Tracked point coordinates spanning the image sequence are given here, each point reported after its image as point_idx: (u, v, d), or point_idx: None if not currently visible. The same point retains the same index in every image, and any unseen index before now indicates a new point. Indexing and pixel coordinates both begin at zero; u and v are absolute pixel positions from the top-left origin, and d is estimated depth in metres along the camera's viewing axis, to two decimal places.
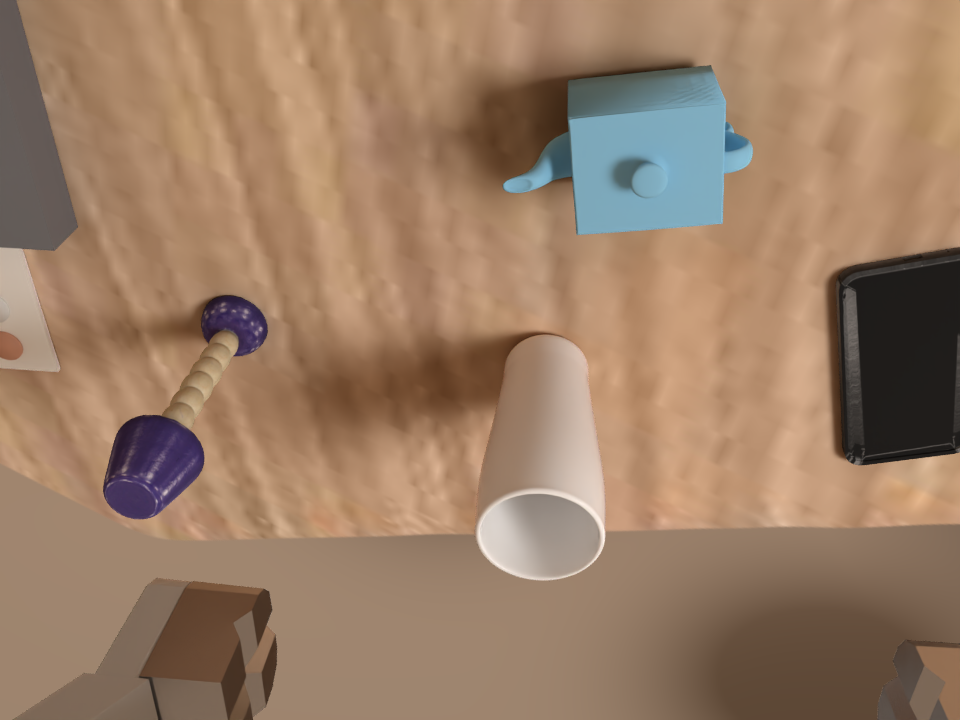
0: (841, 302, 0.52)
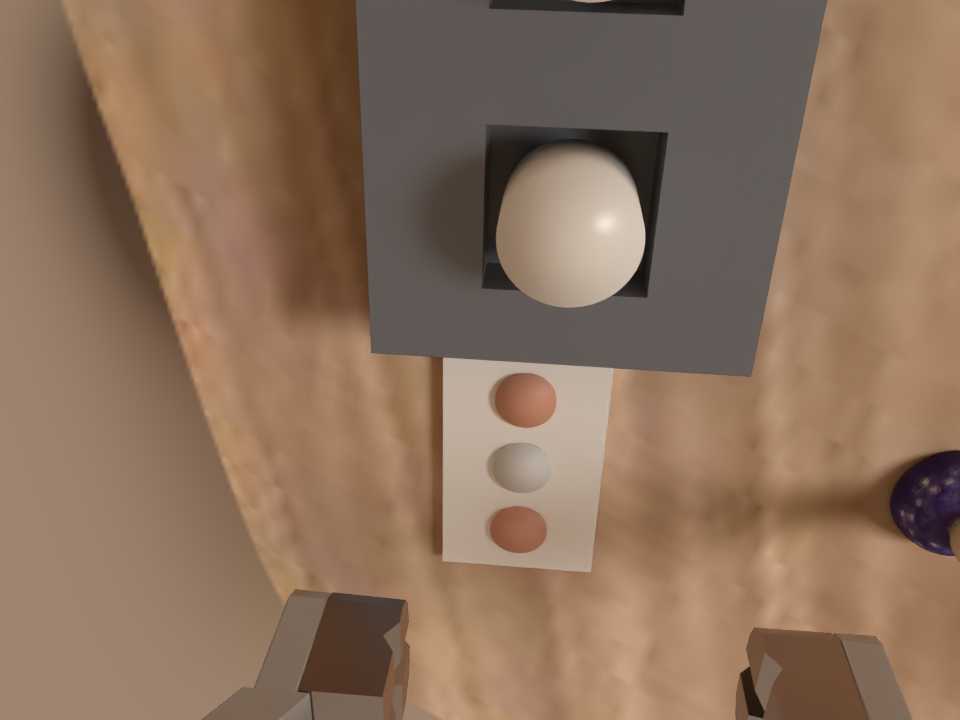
0: None
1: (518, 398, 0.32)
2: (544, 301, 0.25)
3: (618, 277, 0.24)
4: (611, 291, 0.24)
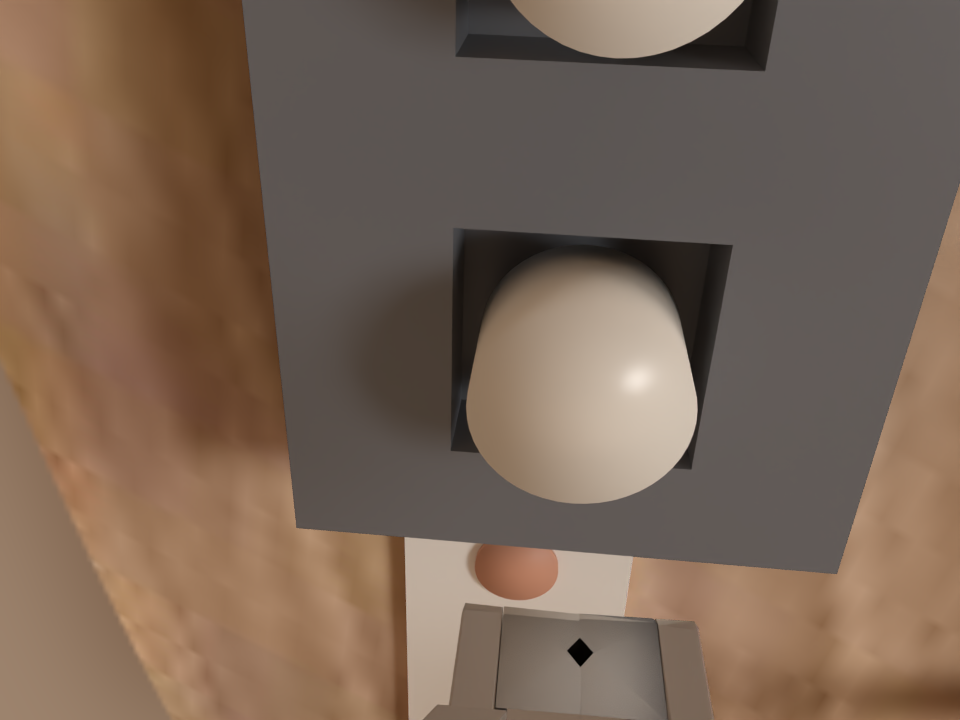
0: None
1: (506, 565, 0.23)
2: (540, 494, 0.16)
3: (653, 466, 0.16)
4: (642, 484, 0.16)
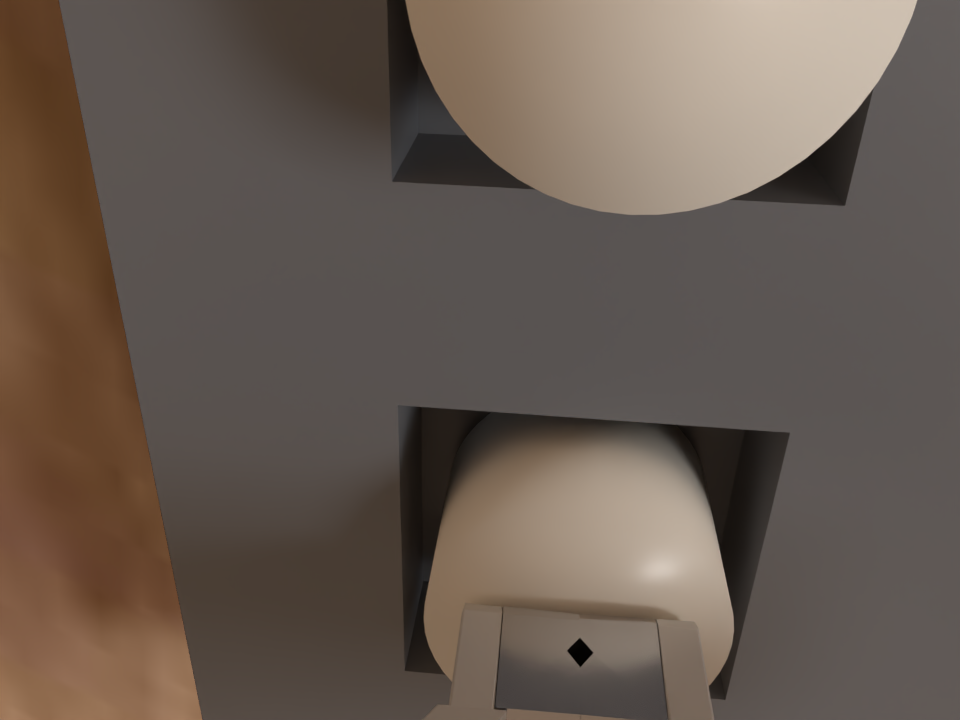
0: None
1: None
2: None
3: None
4: None
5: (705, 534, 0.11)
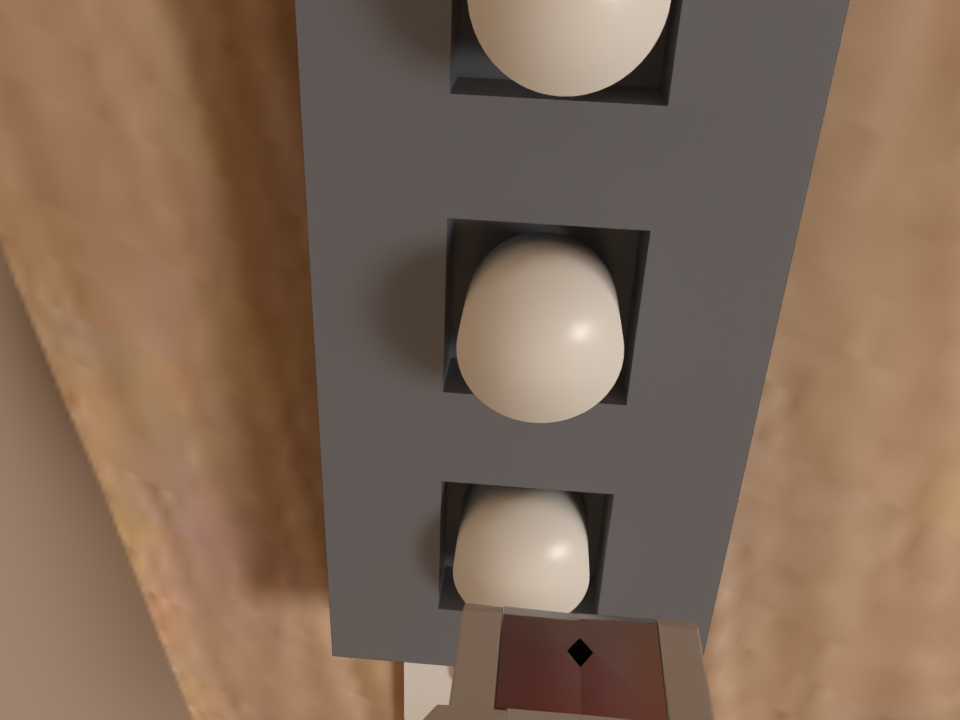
0: None
1: None
2: None
3: (565, 605, 0.26)
4: None
5: (577, 532, 0.26)
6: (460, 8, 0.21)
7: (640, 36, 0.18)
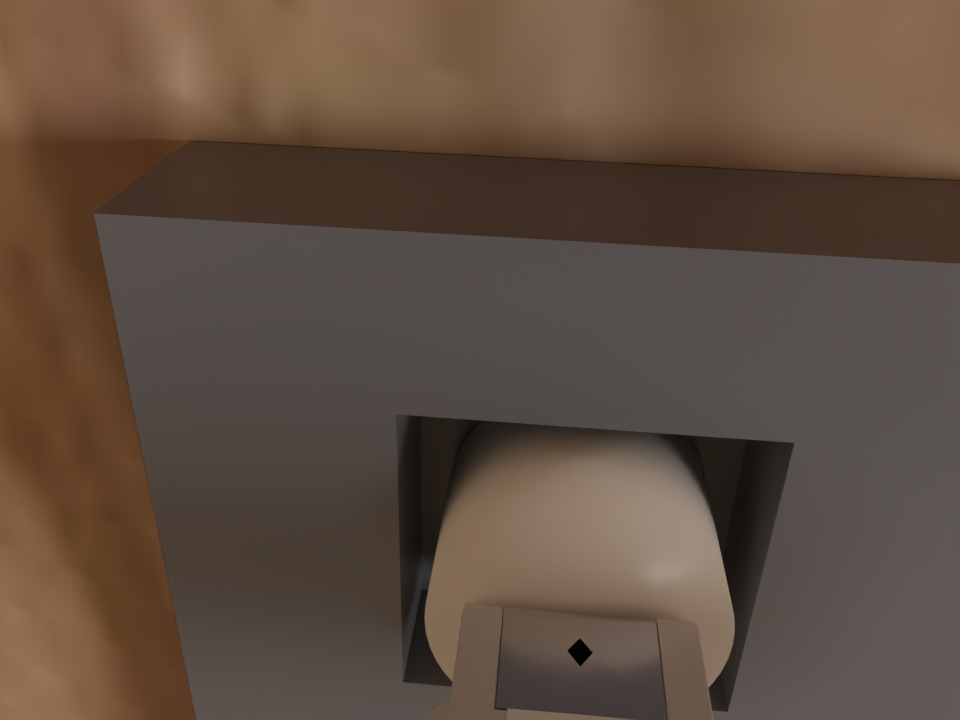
0: None
1: None
2: None
3: None
4: None
5: None
6: (422, 519, 0.15)
7: None
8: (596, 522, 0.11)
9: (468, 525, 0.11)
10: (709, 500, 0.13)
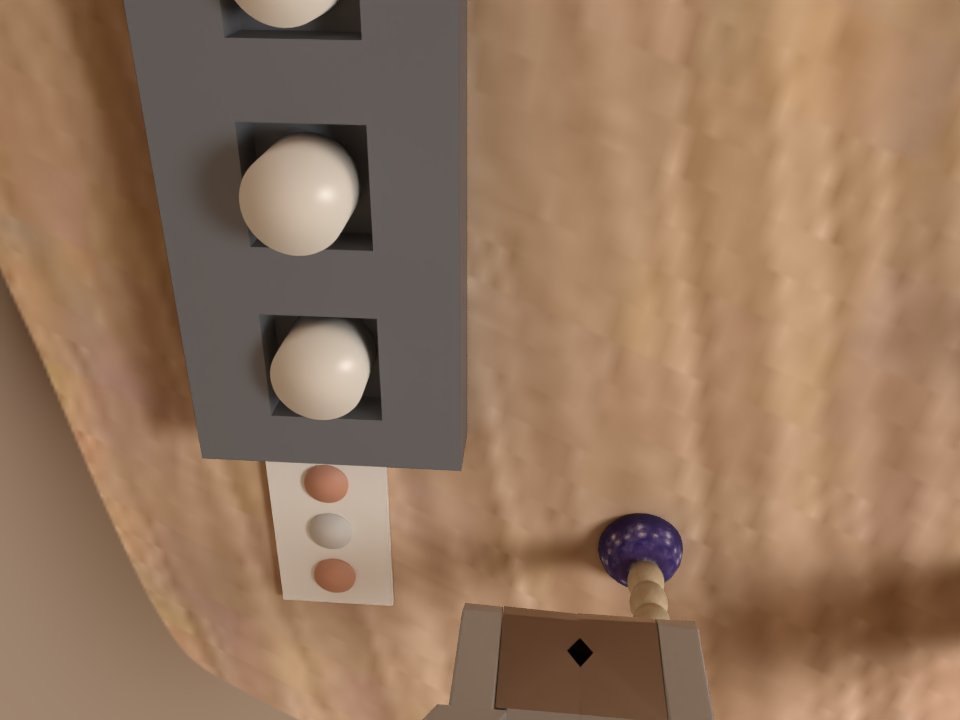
0: None
1: (320, 482, 0.44)
2: (307, 416, 0.38)
3: (351, 401, 0.38)
4: (348, 409, 0.38)
5: (354, 348, 0.37)
6: None
7: None
8: None
9: None
10: None
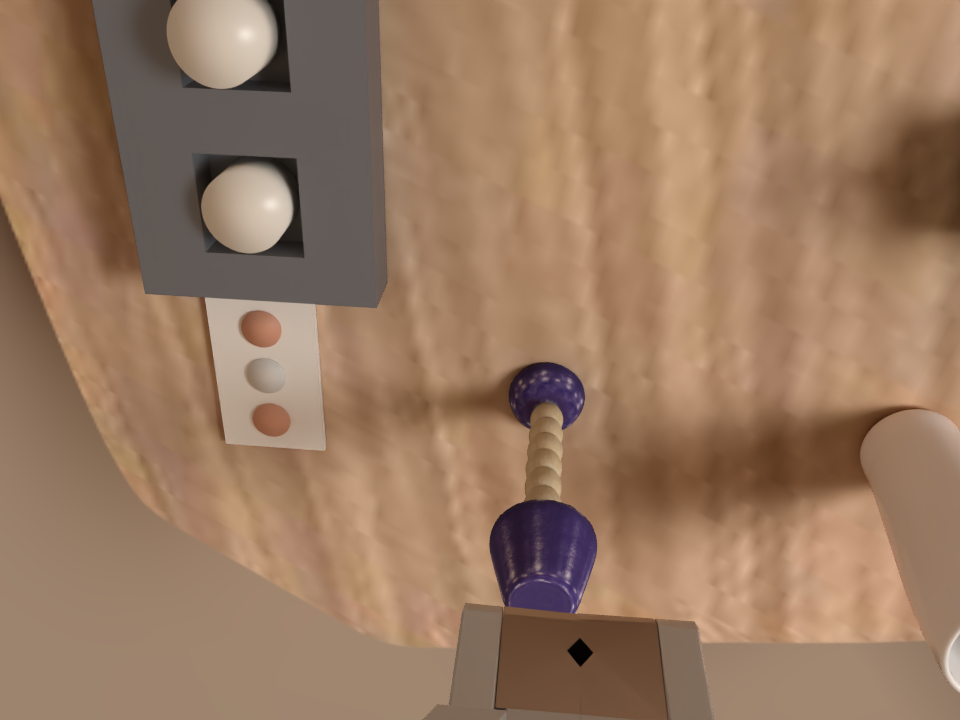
0: None
1: (255, 327, 0.49)
2: (235, 249, 0.43)
3: (274, 235, 0.42)
4: (271, 243, 0.42)
5: (277, 185, 0.41)
6: None
7: None
8: None
9: None
10: None
